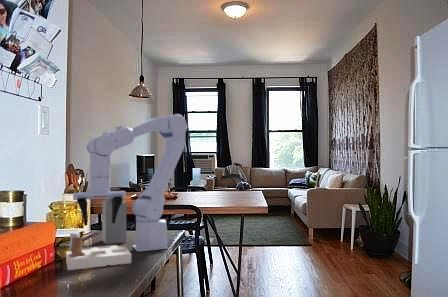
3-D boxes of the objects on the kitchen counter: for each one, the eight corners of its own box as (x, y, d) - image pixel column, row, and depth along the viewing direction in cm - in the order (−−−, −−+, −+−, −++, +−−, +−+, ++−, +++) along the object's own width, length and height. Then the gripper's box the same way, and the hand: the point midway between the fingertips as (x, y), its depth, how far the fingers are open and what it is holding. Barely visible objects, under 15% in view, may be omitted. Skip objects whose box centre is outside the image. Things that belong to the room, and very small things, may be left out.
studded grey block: (117, 249, 120) (117, 228, 120) (120, 253, 114) (120, 231, 114) (68, 254, 114) (68, 232, 114) (69, 259, 108) (69, 235, 108)
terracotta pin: (81, 262, 105) (81, 236, 105) (82, 265, 102) (82, 238, 102) (71, 263, 103) (71, 237, 104) (71, 266, 101) (72, 239, 101)
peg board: (124, 254, 113) (124, 246, 113) (131, 263, 104) (131, 253, 104) (66, 260, 106) (66, 251, 107) (67, 270, 97) (67, 260, 97)
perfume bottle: (105, 244, 127) (106, 189, 127) (102, 240, 133) (102, 188, 133) (126, 242, 130) (126, 189, 130) (121, 238, 136) (122, 187, 136)
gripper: (74, 178, 105) (73, 227, 105) (127, 177, 111) (127, 224, 111) (72, 177, 111) (72, 223, 111) (123, 176, 118) (123, 220, 117)
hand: (99, 223), depth 111 cm, fingers open, 7 cm apart
